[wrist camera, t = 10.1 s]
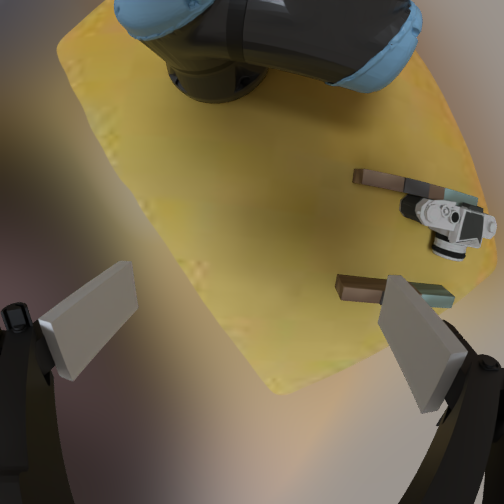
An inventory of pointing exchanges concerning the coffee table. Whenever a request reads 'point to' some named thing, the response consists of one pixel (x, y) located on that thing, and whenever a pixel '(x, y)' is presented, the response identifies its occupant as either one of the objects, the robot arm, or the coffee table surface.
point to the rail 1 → (410, 186)
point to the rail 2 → (375, 289)
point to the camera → (450, 224)
